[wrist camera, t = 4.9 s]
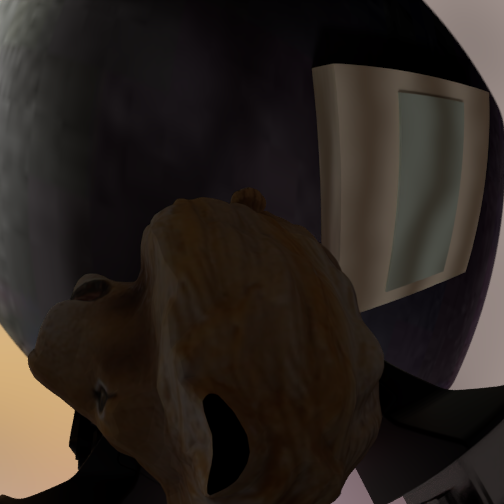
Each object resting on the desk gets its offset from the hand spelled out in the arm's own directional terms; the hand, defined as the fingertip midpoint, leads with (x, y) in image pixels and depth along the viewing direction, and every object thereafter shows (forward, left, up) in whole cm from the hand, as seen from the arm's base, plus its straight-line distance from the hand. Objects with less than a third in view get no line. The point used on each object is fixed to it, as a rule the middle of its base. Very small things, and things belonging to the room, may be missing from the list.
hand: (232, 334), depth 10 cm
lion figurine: (-1, +1, -3) cm, 3 cm away
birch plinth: (+16, 0, -11) cm, 19 cm away
